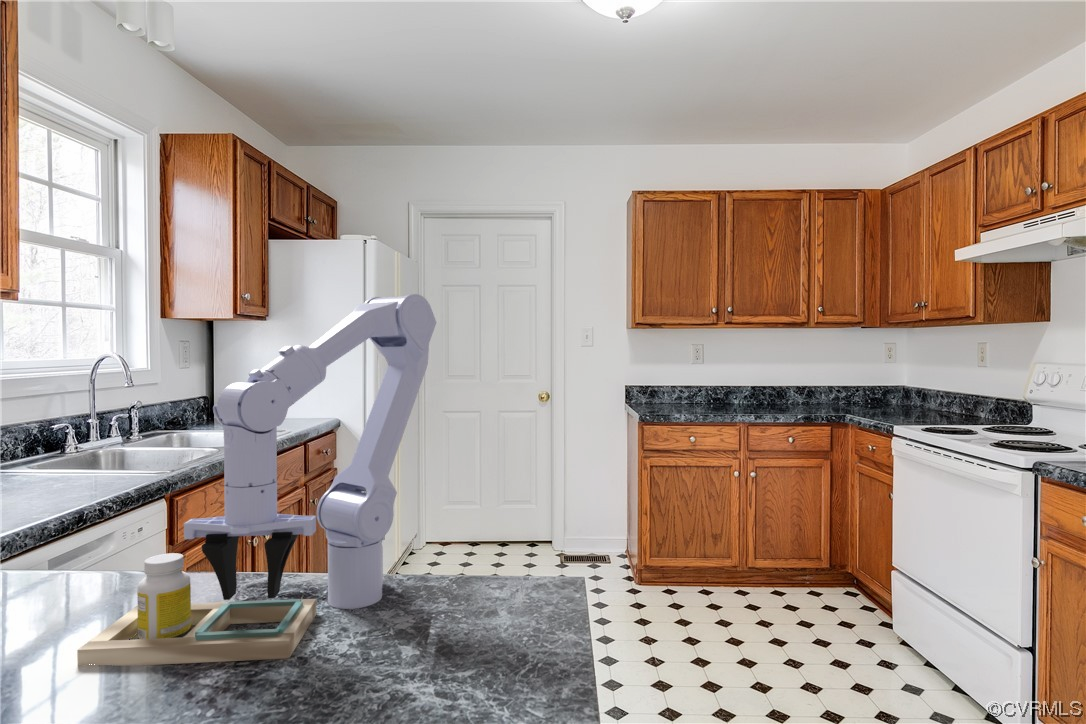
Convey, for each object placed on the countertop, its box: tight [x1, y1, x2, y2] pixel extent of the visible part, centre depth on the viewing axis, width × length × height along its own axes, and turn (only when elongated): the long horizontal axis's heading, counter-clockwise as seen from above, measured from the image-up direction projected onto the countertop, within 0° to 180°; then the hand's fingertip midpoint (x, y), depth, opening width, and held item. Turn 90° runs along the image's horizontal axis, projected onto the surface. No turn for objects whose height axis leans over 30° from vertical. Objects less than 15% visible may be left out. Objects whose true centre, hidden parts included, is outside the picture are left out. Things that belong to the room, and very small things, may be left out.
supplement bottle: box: [136, 552, 192, 639], centre depth 75 cm, size 5×5×10 cm
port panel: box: [76, 598, 318, 667], centre depth 75 cm, size 12×22×2 cm, turn 96°
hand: (251, 595), depth 76 cm, fingers open, 4 cm apart
